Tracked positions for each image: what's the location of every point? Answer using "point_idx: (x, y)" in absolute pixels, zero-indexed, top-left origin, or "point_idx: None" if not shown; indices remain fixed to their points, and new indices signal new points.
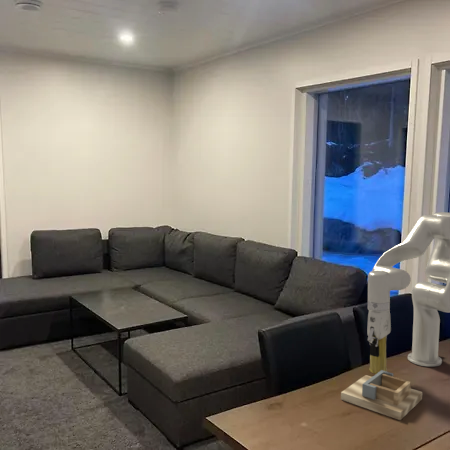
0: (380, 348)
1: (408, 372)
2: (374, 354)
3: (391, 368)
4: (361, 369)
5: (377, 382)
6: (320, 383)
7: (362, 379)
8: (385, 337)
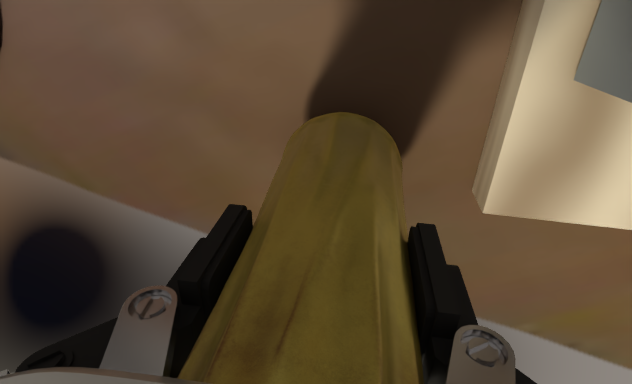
0: (393, 270)
1: (147, 4)
2: (455, 271)
3: (177, 124)
4: None
5: None
6: (620, 362)
7: (584, 207)
8: (287, 366)
